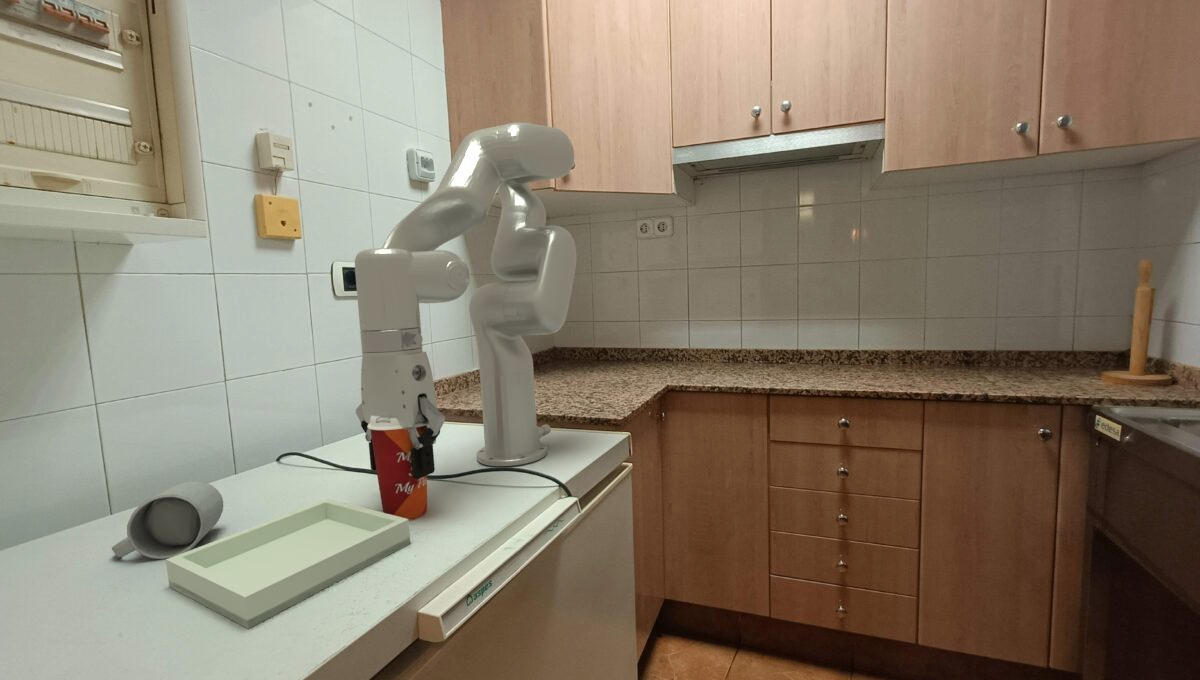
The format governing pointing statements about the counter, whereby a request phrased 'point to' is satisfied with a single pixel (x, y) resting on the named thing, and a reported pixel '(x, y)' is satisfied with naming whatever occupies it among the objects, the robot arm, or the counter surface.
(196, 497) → the ceramic mug
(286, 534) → the sage tray
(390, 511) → the paper cup
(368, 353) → the robot arm
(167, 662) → the counter surface
